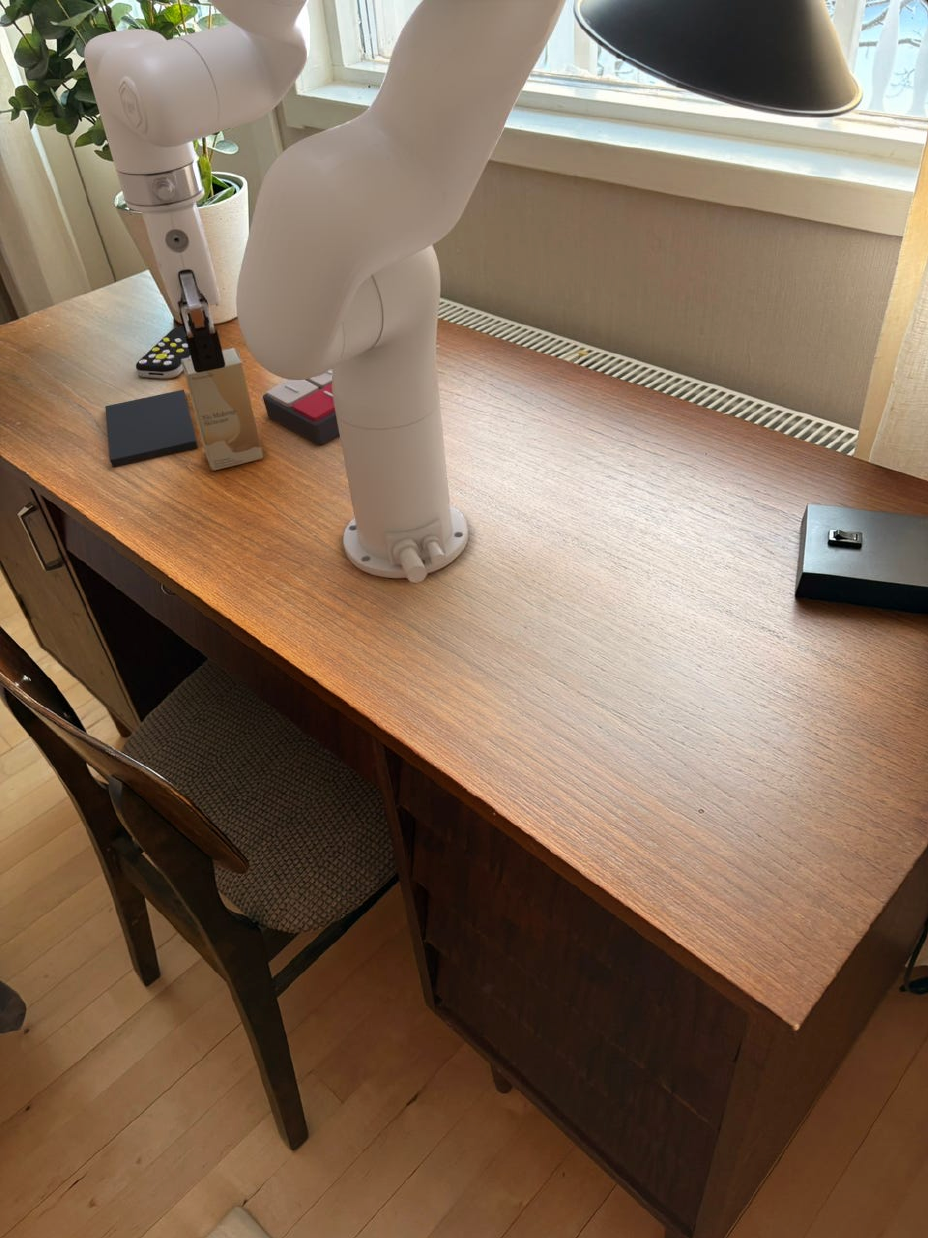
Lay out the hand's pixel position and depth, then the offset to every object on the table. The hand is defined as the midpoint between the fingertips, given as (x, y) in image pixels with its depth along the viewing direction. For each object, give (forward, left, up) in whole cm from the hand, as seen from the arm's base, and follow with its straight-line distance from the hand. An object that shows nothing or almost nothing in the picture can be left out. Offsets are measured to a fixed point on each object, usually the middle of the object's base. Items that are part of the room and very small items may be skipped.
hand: (204, 349), depth 102 cm
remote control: (+30, +4, -14) cm, 33 cm away
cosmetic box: (0, 0, -14) cm, 14 cm away
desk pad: (+11, +9, -13) cm, 19 cm away
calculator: (+6, -14, -14) cm, 20 cm away
